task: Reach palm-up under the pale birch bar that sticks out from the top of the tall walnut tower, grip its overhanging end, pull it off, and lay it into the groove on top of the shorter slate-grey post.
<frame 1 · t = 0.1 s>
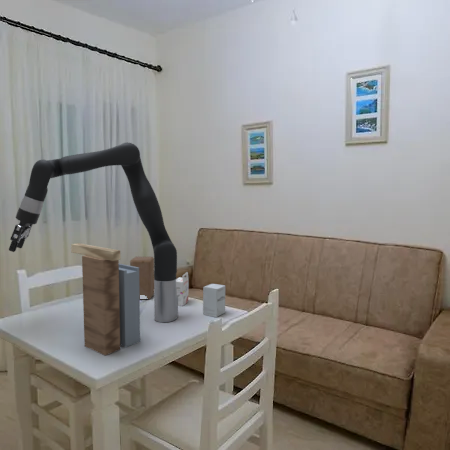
hand: (15, 249, 146), 31 cm above the table, tool tilted 20°, fingers open, 8 cm apart
ink cartridge box: (181, 303, 184), on the table
wooden block: (142, 297, 193), on the table
walnut tower: (102, 347, 133), on the table
supplement box: (214, 314, 169), on the table
grey post: (122, 340, 139), on the table
bar: (94, 255, 131), point 32 cm above the table, touching walnut tower
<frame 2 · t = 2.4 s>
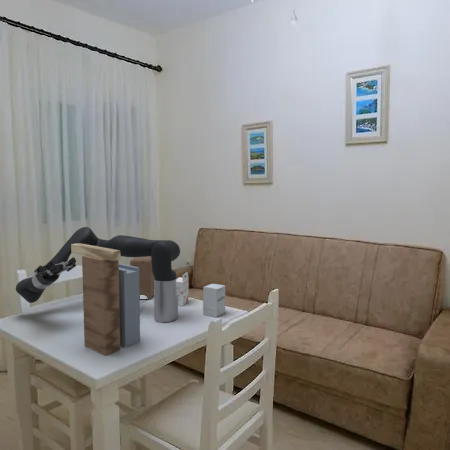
hand: (64, 261, 143), 28 cm above the table, tool pointing upward, fingers open, 8 cm apart
nothing on the table moved.
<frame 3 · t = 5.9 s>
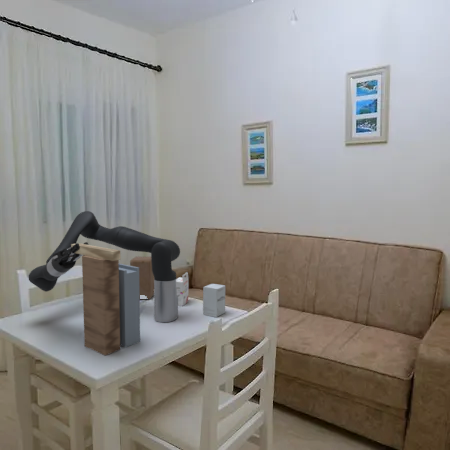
hand: (82, 245, 135), 35 cm above the table, tool pointing upward, fingers closed on bar, 3 cm apart
bar: (94, 255, 131), point 32 cm above the table, touching gripper, walnut tower
everything else where it was.
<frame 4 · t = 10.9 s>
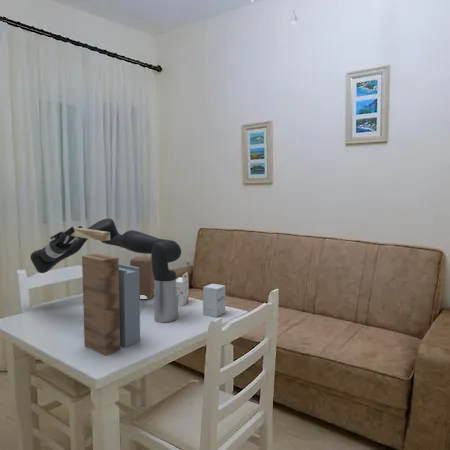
hand: (77, 228, 152), 39 cm above the table, tool pointing upward, fingers closed on bar, 3 cm apart
bar: (87, 237, 148), point 36 cm above the table, touching gripper
everything else where it was.
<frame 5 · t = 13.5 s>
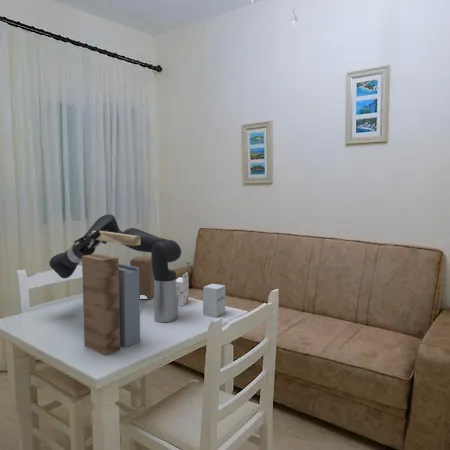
hand: (103, 232, 141), 39 cm above the table, tool pointing upward, fingers closed on bar, 3 cm apart
bar: (115, 241, 137), point 36 cm above the table, touching gripper
everything else where it was.
when the fingers open (30 cm above the table, at t = 15.9 s): bar stays where it is, resting on grey post.
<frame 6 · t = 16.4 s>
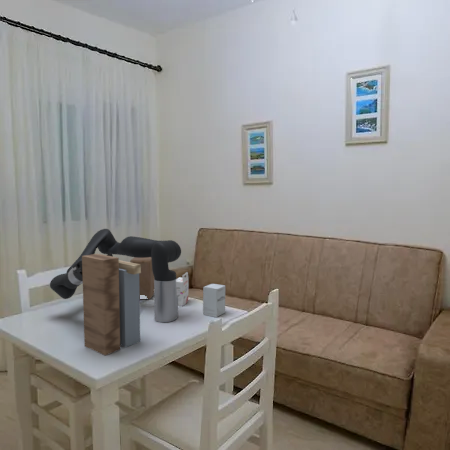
hand: (102, 256, 143), 30 cm above the table, tool pointing upward, fingers open, 7 cm apart
bar: (115, 268, 139), point 26 cm above the table, touching grey post
everything else where it was.
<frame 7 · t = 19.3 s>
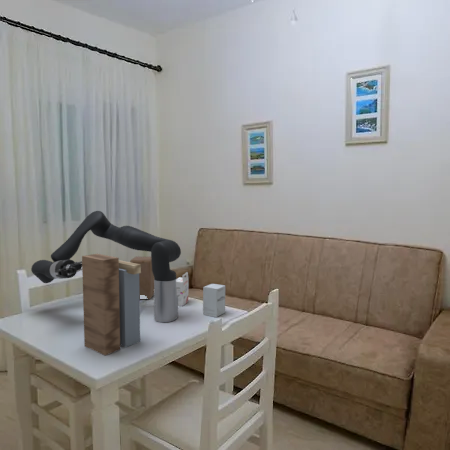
hand: (85, 266, 147), 25 cm above the table, tool horizontal, fingers open, 8 cm apart
nothing on the table moved.
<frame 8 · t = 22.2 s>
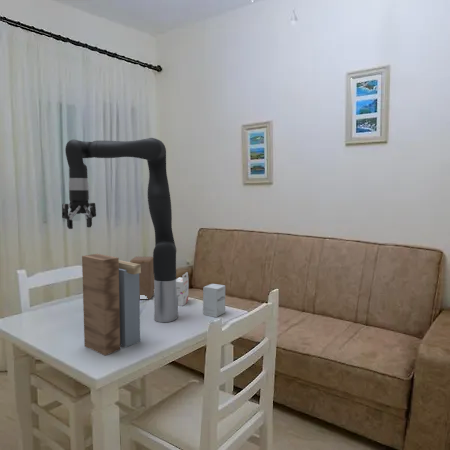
hand: (79, 228, 160), 38 cm above the table, tool pointing down, fingers open, 8 cm apart
nothing on the table moved.
at the end: bar 0.1 cm from the target spot on the grey post, point 26.0 cm above the grey post's base; bar tilted 0°; the gripper is holding nothing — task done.
